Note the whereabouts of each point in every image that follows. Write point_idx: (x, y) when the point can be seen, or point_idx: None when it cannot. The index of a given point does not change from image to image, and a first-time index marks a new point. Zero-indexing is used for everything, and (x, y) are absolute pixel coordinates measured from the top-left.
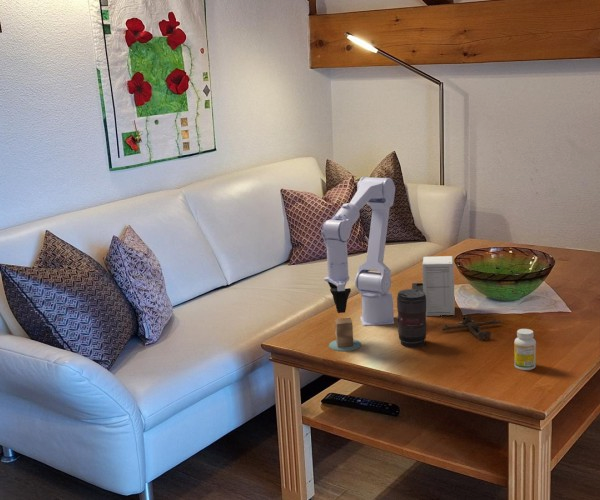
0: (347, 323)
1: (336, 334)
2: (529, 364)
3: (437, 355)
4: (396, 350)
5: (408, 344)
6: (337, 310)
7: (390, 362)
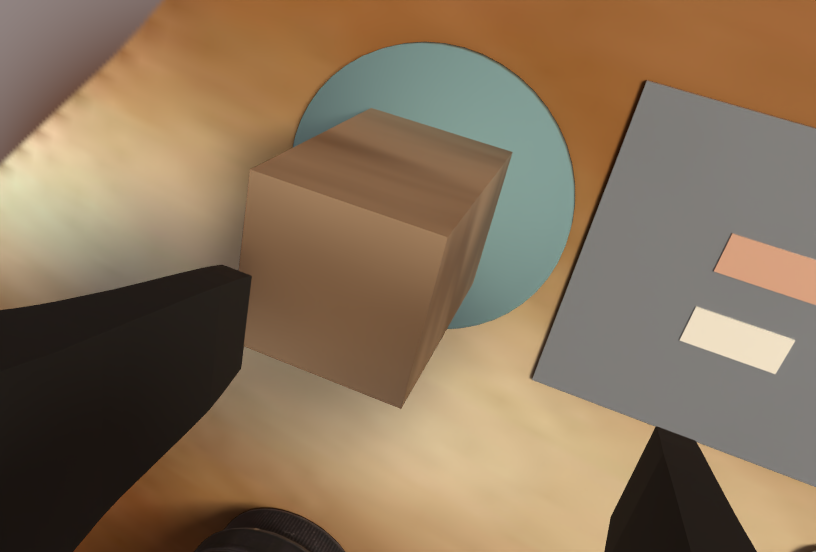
0: None
1: (417, 157)
2: None
3: (100, 547)
4: (217, 442)
5: (225, 529)
6: (190, 274)
7: None
